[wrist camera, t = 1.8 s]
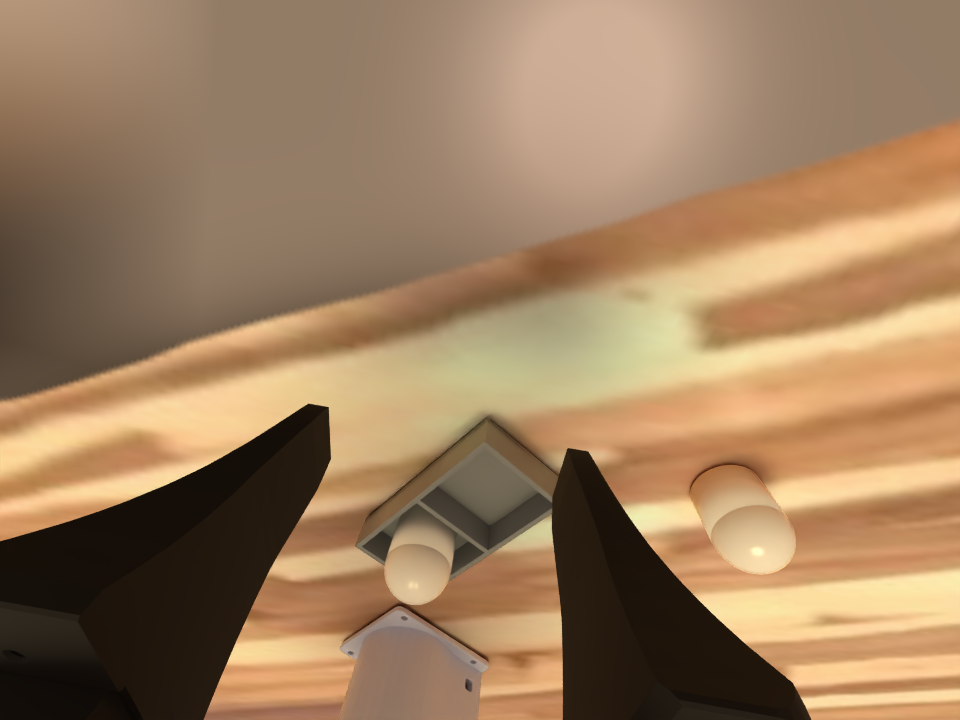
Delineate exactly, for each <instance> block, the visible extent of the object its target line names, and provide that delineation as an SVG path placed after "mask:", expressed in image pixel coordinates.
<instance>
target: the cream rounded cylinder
mask: <svg viewBox="0 0 960 720" xmlns="http://www.w3.org/2000/svg"><path fill="white" fill-rule="evenodd" d="M690 497H691V501H692V503H693V505H694V507H695V509H696V511H697V513H698V515H699V517H700V519H701V521H702V523H703V526H704V528H705V530H706V532H707V534H708V536H709V538H710V540H711V542H712V544H713V546H714V548H715V549H716V551H717V552H718V553H719V555H720V556H721V557H722V558H723V559H724V560H725V561H727V562H728V563H729V564H731V565H732V566H734V567H736V568H737V569H739V570H742V571H745V572H748V573H752V574H769V573H773V572H776V571H779V570H780V569H782V568H784V567H785V566H786V565H787V564H788V563H789V562H790V561H791V559H792V557H793V555H794V553H795V549H796V535H795V531H794V528H793V526H792V524H791V522H790V520H789V519H788V517H787V516H786V514H785V513H784V512H783V510H782V509H781V508H780V506H779V505H778V503H777V502H776V501H775V499H774V498H773V497H772V495H771V494H770V492H769V491H768V490H767V488H766V487H765V485H764V484H763V483H762V481H761V480H760V479H759V477H758V476H757V475H756V473H754V472H753V471H752V470H750V469H748V468H746V467H743V466H739V465H723V466H719V467H715V468H712V469H710V470H708V471H706V472H705V473H703V474H702V475H700V476H699V477H698V478H697V479H696V480H695V482H694V483H693V485H692V487H691V491H690Z"/></svg>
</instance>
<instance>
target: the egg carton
mask: <svg viewBox="0 0 960 720" xmlns="http://www.w3.org/2000/svg"><path fill="white" fill-rule="evenodd" d="M557 480H558V476H557V475H556V474H555V473H553V472H552V471H551V470H550V469H549V468H547V467H546V466H545V465H544V464H543V463H542V462H540V461H539V460H538V459H537V458H536V457H534V456H533V455H532V454H531V453H530V452H529V451H527V450H526V449H525V448H524V447H523V446H521V445H520V444H519V443H518V442H517V441H515V440H514V439H513V438H512V437H511V436H510V435H508V434H507V433H506V432H505V431H504V430H502V429H501V428H500V427H499V426H498V425H496V424H495V423H494V422H493V421H492V420H491V419H489V418H488V417H487V418H486V419H485V420H484V421H483V422H481V423H480V424H479V425H478V426H477V427H475V428H474V429H473V430H472V431H471V432H469V433H468V434H467V435H466V436H465V437H463V438H462V439H461V440H460V441H459V442H457V443H456V444H455V445H454V446H453V447H451V448H450V449H449V450H448V451H447V452H445V453H444V454H443V455H442V456H441V457H439V458H438V459H437V460H436V461H435V462H433V463H432V464H431V465H430V466H429V467H427V468H426V469H425V470H424V471H423V472H421V473H420V474H419V475H418V476H417V477H415V478H414V479H413V480H412V481H411V482H409V483H408V484H407V485H406V486H405V487H403V488H402V489H401V490H400V491H399V492H397V493H396V494H395V495H394V496H393V497H391V498H390V499H389V500H388V501H387V502H385V503H384V504H383V505H382V506H381V507H379V508H378V509H377V510H376V511H375V512H373V513H372V514H371V515H370V516H369V517H367V518H366V521H365V523H364V526H363V528H362V530H361V533H360V535H359V538H358V540H357V542H356V545H355V547H357V548H358V549H360V550H361V551H363V552H364V553H366V554H367V555H369V556H370V557H372V558H373V559H375V560H376V561H378V562H379V563H381V564H382V565H384V566H385V561H386V557H387V554H388V551H389V548H390V545H391V542H392V539H393V536H394V533H395V530H396V527H397V524H398V521H399V518H400V516H401V515H402V514H403V513H404V512H406V511H407V510H408V509H410V508H411V507H412V506H413V505H416V504H418V505H420V506H421V507H423V508H424V509H425V510H427V511H428V512H429V513H431V514H432V515H433V516H435V517H436V518H438V519H439V520H440V521H442V522H443V523H444V524H446V525H447V526H449V527H450V528H451V529H453V530H454V531H455V532H457V537H456V543H455V549H454V555H453V561H452V568H451V573H450V578H449V580H448V582H449V581H450V580H452V579H453V578H455V577H456V576H458V575H459V574H461V573H462V572H464V571H465V570H467V569H469V568H470V567H472V566H473V565H475V564H476V563H478V562H479V561H481V560H482V559H484V558H485V557H487V556H488V555H490V554H491V553H493V552H494V551H496V550H498V549H499V548H501V547H502V546H504V545H505V544H507V543H508V542H510V541H511V540H513V539H514V538H516V537H517V536H519V535H520V534H522V533H523V532H525V531H526V530H528V529H530V528H531V527H533V526H534V525H536V524H537V523H539V522H540V521H542V520H543V519H545V518H546V517H548V516H549V515H551V514H552V496H553V493H554V490H555V487H556V483H557Z"/></svg>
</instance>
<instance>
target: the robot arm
mask: <svg viewBox="0 0 960 720" xmlns="http://www.w3.org/2000/svg"><path fill="white" fill-rule="evenodd" d="M330 460H331V450H330V428H329V407H325V406H319V405H313V404H307V405H306V406H304V407H303V408H301V409H299V410H298V411H296V412H295V413H293V414H292V415H290V416H289V417H287V418H286V419H284V420H283V421H281V422H279V423H278V424H276V425H275V426H273V427H272V428H270V429H269V430H267V431H265V432H264V433H262V434H261V435H259V436H257V437H256V438H254V439H253V440H251V441H249V442H248V443H246V444H244V445H243V446H241V447H239V448H237V449H236V450H234V451H232V452H230V453H229V454H227V455H225V456H223V457H222V458H220V459H218V460H216V461H214V462H213V463H211V464H209V465H207V466H205V467H203V468H201V469H199V470H197V471H195V472H193V473H191V474H189V475H187V476H185V477H182V478H180V479H178V480H176V481H174V482H172V483H170V484H167V485H165V486H163V487H160V488H158V489H155V490H153V491H150V492H148V493H146V494H143V495H141V496H138V497H136V498H133V499H131V500H129V501H126V502H123V503H121V504H118V505H115V506H113V507H110V508H107V509H104V510H102V511H99V512H96V513H93V514H90V515H87V516H84V517H81V518H78V519H75V520H72V521H69V522H66V523H62V524H59V525H56V526H52V527H49V528H45V529H42V530H39V531H35V532H32V533H28V534H25V535H21V536H18V537H14V538H11V539H7V540H3V541H0V720H204V717H205V715H206V712H207V710H208V707H209V705H210V702H211V700H212V697H213V695H214V692H215V690H216V687H217V685H218V682H219V680H220V678H221V675H222V673H223V671H224V669H225V666H226V664H227V662H228V659H229V657H230V655H231V652H232V650H233V648H234V645H235V643H236V641H237V638H238V636H239V634H240V632H241V630H242V627H243V625H244V623H245V621H246V619H247V617H248V614H249V612H250V610H251V608H252V606H253V603H254V601H255V599H256V597H257V595H258V593H259V591H260V589H261V587H262V585H263V583H264V581H265V578H266V576H267V574H268V572H269V570H270V568H271V567H272V565H273V563H274V561H275V559H276V558H277V556H278V554H279V552H280V551H281V549H282V547H283V546H284V544H285V542H286V541H287V539H288V538H289V536H290V534H291V533H292V531H293V529H294V528H295V526H296V524H297V523H298V521H299V519H300V518H301V516H302V514H303V513H304V511H305V509H306V508H307V506H308V504H309V503H310V501H311V499H312V498H313V496H314V494H315V493H316V491H317V489H318V487H319V485H320V483H321V480H322V478H323V476H324V474H325V471H326V469H327V467H328V464H329V462H330ZM552 534H553V543H554V552H555V561H556V570H557V578H558V587H559V595H560V604H561V616H562V648H563V720H811V718H810V716H809V714H808V711H807V709H806V707H805V705H804V703H803V701H802V699H801V698H800V696H799V694H798V692H797V690H796V688H795V686H794V685H793V683H792V682H791V681H790V680H788V679H787V678H786V677H785V676H784V675H782V674H781V673H780V672H779V671H777V670H776V669H775V668H774V667H773V666H771V665H770V664H769V663H768V662H767V661H765V660H764V659H763V658H762V657H760V656H759V655H758V654H757V653H756V652H754V651H753V650H752V649H751V648H749V647H748V646H747V645H746V644H745V643H744V642H743V641H741V640H740V639H739V638H738V637H737V636H736V635H735V634H734V633H733V632H732V631H730V630H729V629H728V628H727V627H726V626H725V625H724V624H723V623H722V622H721V621H719V620H718V619H717V618H716V617H715V616H714V615H713V614H712V613H711V612H710V611H709V610H708V609H707V608H706V607H705V606H704V605H703V604H702V603H701V602H700V601H699V600H698V599H697V598H696V597H695V596H694V595H693V594H692V593H691V592H690V591H689V590H688V589H687V588H686V587H685V586H684V585H683V584H682V582H681V581H680V580H679V579H678V578H677V577H676V576H675V575H674V574H673V573H672V571H671V570H670V569H669V568H668V567H667V566H666V564H665V563H664V562H663V561H662V560H661V559H660V557H659V556H658V555H657V554H656V553H655V552H654V550H653V549H652V548H651V547H650V545H649V544H648V543H647V541H646V540H645V539H644V537H643V536H642V535H641V533H640V532H639V531H638V529H637V528H636V527H635V525H634V524H633V522H632V521H631V519H630V518H629V517H628V515H627V514H626V512H625V511H624V509H623V508H622V506H621V504H620V503H619V501H618V500H617V498H616V497H615V495H614V494H613V492H612V490H611V489H610V487H609V486H608V484H607V482H606V481H605V479H604V477H603V476H602V474H601V472H600V470H599V469H598V467H597V465H596V464H595V462H594V460H593V458H592V457H591V455H590V454H589V452H588V451H582V450H576V449H570V448H568V449H567V452H566V455H565V458H564V461H563V464H562V468H561V471H560V474H559V477H558V480H557V483H556V487H555V490H554V493H553V496H552ZM340 650H341V651H342V652H343V653H345V654H347V655H348V656H350V657H352V658H354V659H355V660H357V661H356V664H355V667H354V671H353V674H352V677H351V680H350V683H349V686H348V689H347V693H346V696H345V699H344V702H343V705H342V708H341V711H340V715H339V718H338V720H478V713H479V700H480V686H481V673H483V672H485V671H486V670H488V668H489V663H488V661H487V660H485V659H483V658H482V657H480V656H479V655H477V654H476V653H474V652H473V651H471V650H469V649H468V648H466V647H465V646H463V645H462V644H460V643H459V642H457V641H455V640H454V639H452V638H451V637H449V636H448V635H446V634H445V633H443V632H441V631H440V630H438V629H437V628H435V627H434V626H432V625H431V624H429V623H428V622H426V621H424V620H423V619H421V618H420V617H418V616H417V615H415V614H414V613H412V612H410V611H409V610H407V609H406V608H404V607H402V606H397V607H395V608H393V609H392V610H390V611H389V612H387V613H386V614H384V615H383V616H381V617H380V618H378V619H377V620H375V621H374V622H372V623H371V624H370V625H368V626H367V627H365V628H364V629H362V630H361V631H359V632H358V633H356V634H355V635H353V636H352V637H350V638H349V639H347V640H346V641H344V642H343V643H342V644H341V646H340Z"/></svg>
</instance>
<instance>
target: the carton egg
mask: <svg viewBox="0 0 960 720" xmlns="http://www.w3.org/2000/svg"><path fill="white" fill-rule="evenodd" d="M456 537H457V532H455V531H454V530H453V529H451V528H450V527H449V526H447V525H446V524H444V523H443V522H442V521H440V520H439V519H438V518H436V517H435V516H433V515H432V514H431V513H429V512H428V511H427V510H425V509H424V508H423V507H421V506H420V505H418V504H416V505H413V506H412V507H411V508H410V509H408V510H407V511H406V512H404V513H403V514H402V515H401V516H400V518H399V521H398V524H397V527H396V530H395V533H394V536H393V539H392V542H391V545H390V548H389V551H388V554H387V557H386V561H385V568H384V574H385V580H386V584H387V586H388V588H389V590H390V592H391V593H392V594H393V595H394V596H395V597H396V598H397V599H398V600H400V601H401V602H403V603H406V604H409V605H422V604H426V603H428V602H430V601H432V600H434V599H435V598H436V597H438V596H439V595H440V594H441V593H442V591H443V590H444V589H445V587H446V585H447V583H448V580H449V578H450V573H451V568H452V561H453V555H454V549H455V543H456Z"/></svg>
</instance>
